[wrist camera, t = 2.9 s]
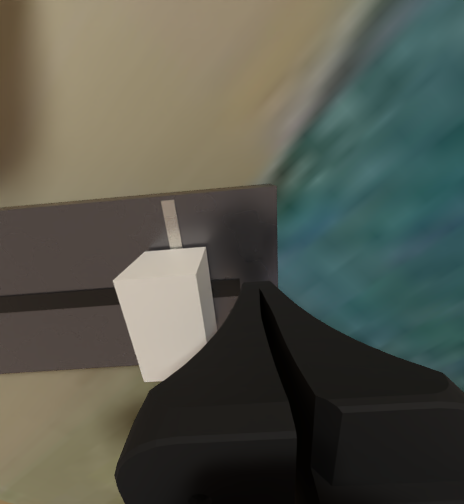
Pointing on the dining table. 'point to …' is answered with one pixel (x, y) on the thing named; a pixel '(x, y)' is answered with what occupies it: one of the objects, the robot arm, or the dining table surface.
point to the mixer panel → (117, 267)
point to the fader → (167, 308)
